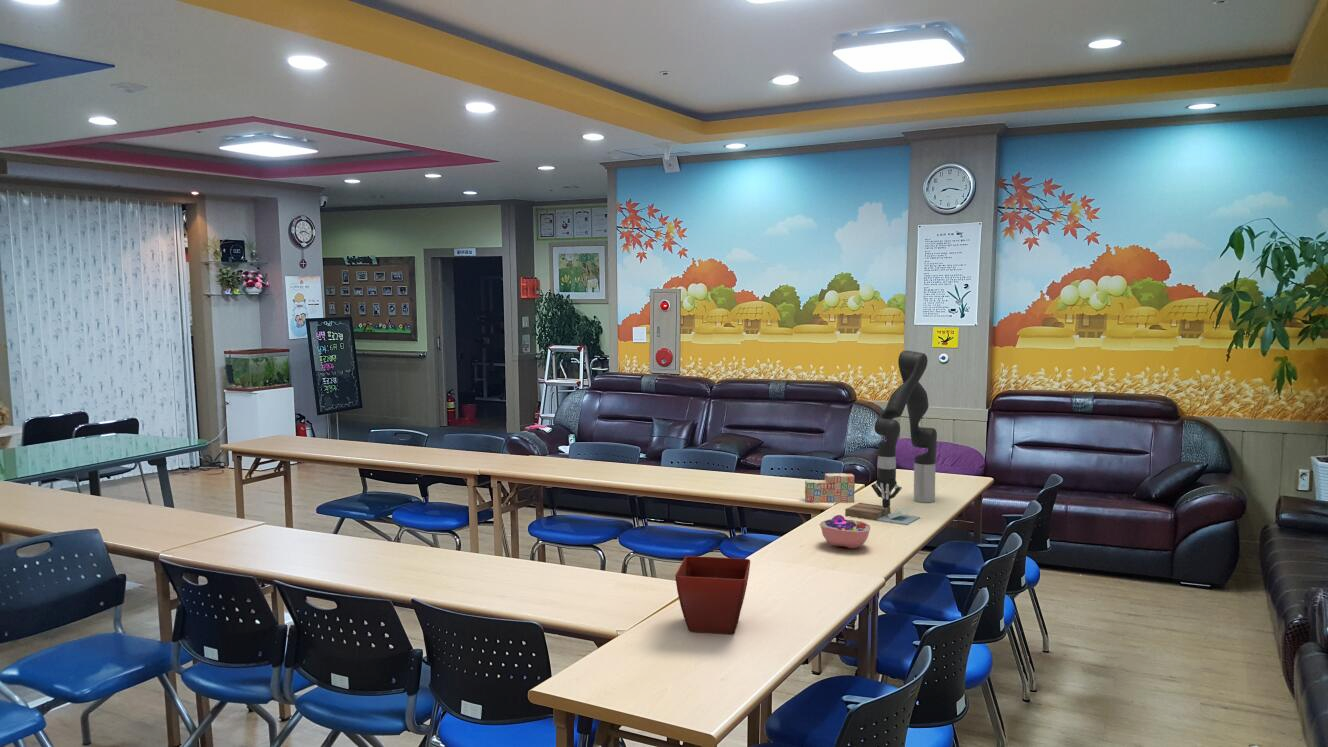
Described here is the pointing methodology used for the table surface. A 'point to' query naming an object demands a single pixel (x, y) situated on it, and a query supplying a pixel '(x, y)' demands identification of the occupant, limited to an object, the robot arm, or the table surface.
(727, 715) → the table surface
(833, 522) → the cell model
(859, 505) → the block
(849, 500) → the stack of blocks
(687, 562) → the plant pot
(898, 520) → the mat
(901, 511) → the tile
